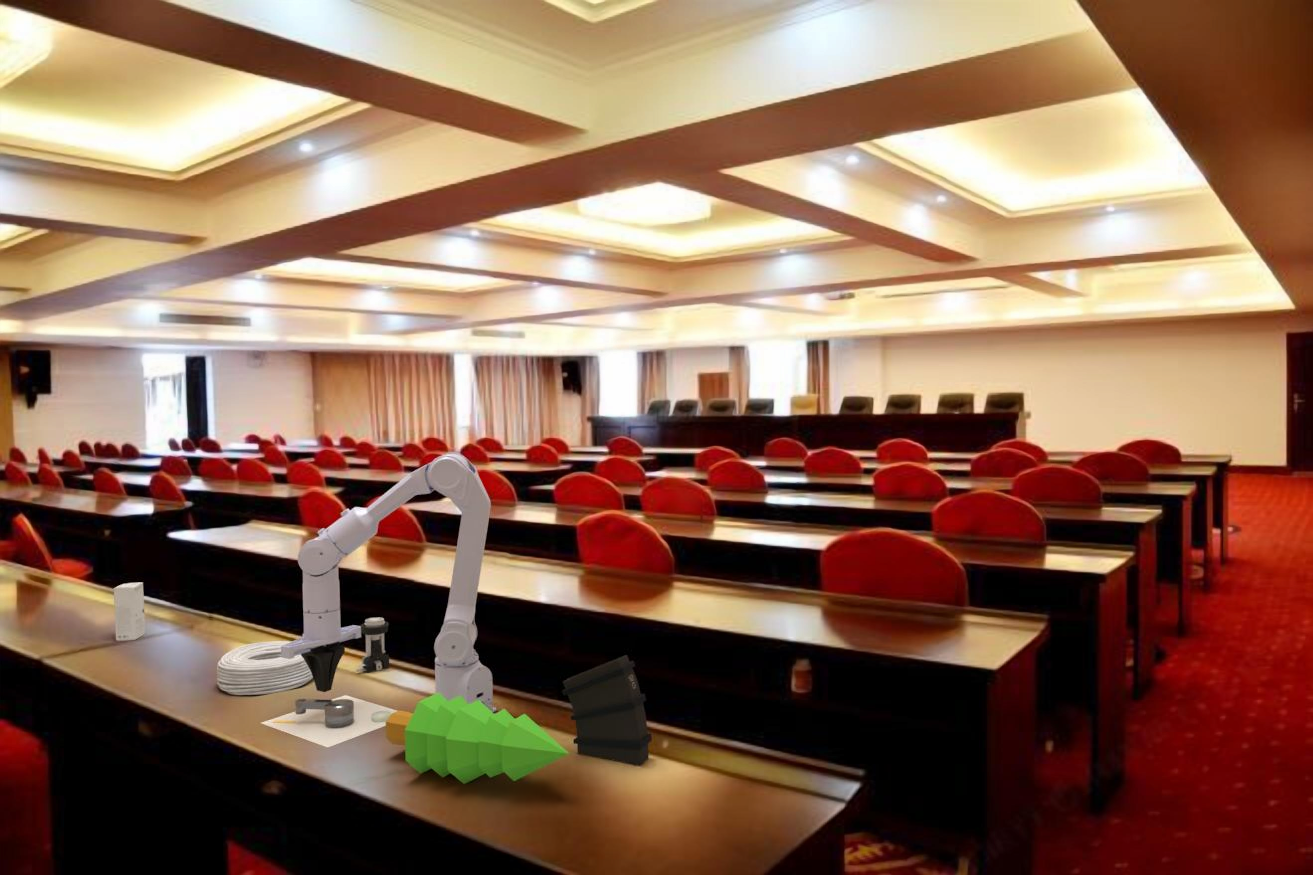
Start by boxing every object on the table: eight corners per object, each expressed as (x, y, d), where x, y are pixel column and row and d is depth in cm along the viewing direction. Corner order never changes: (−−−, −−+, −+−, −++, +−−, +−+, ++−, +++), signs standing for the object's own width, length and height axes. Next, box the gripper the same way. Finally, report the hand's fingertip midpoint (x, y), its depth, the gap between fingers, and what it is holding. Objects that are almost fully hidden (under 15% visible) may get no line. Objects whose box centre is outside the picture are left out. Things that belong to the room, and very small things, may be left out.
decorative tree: (407, 671, 128) (578, 692, 115) (430, 731, 132) (598, 757, 119) (356, 723, 119) (535, 752, 105) (382, 786, 123) (558, 821, 110)
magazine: (659, 759, 121) (618, 659, 123) (587, 783, 126) (549, 687, 129) (670, 750, 124) (630, 653, 127) (600, 773, 130) (563, 679, 132)
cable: (259, 666, 173) (258, 636, 172) (336, 671, 169) (336, 641, 169) (195, 694, 156) (194, 662, 155) (279, 701, 152) (278, 667, 152)
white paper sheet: (413, 721, 141) (412, 710, 141) (327, 753, 128) (327, 741, 128) (345, 700, 151) (345, 690, 151) (260, 728, 138) (260, 717, 138)
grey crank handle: (358, 717, 139) (358, 696, 139) (346, 727, 135) (346, 706, 135) (303, 715, 140) (302, 695, 140) (289, 725, 136) (288, 704, 136)
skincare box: (136, 640, 192) (134, 586, 191) (114, 641, 191) (112, 587, 190) (146, 633, 198) (145, 581, 197) (124, 634, 197) (123, 582, 196)
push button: (363, 676, 165) (362, 625, 164) (350, 671, 168) (349, 620, 168) (394, 668, 169) (393, 619, 169) (381, 663, 173) (380, 614, 173)
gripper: (340, 598, 150) (342, 674, 150) (267, 616, 137) (270, 699, 138) (368, 602, 146) (370, 680, 147) (296, 621, 134) (299, 706, 134)
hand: (324, 690), depth 142 cm, fingers closed
